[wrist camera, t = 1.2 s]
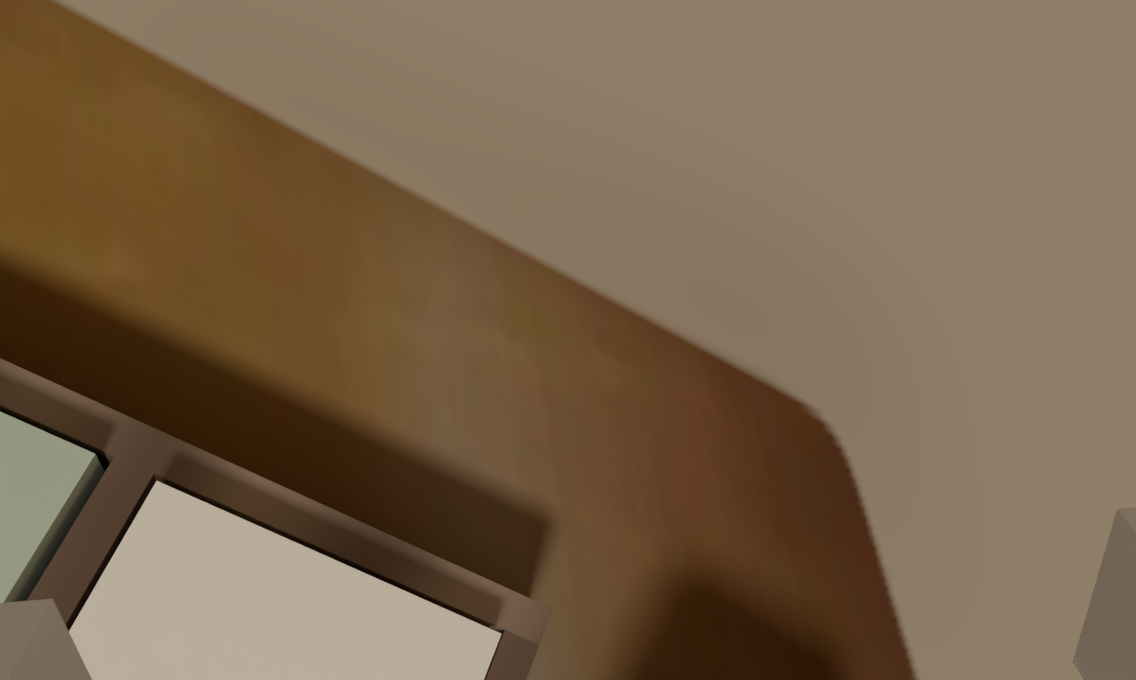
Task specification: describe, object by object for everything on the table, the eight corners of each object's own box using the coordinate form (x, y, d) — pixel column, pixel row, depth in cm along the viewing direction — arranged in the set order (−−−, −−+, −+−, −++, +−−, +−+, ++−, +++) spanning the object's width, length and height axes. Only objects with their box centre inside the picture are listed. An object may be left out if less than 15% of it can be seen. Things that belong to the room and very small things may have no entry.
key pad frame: (-669, 726, 23) (-783, 733, 21) (-261, 260, 29) (-309, 218, 27) (348, 1078, 28) (362, 1121, 25) (525, 613, 34) (552, 608, 31)
